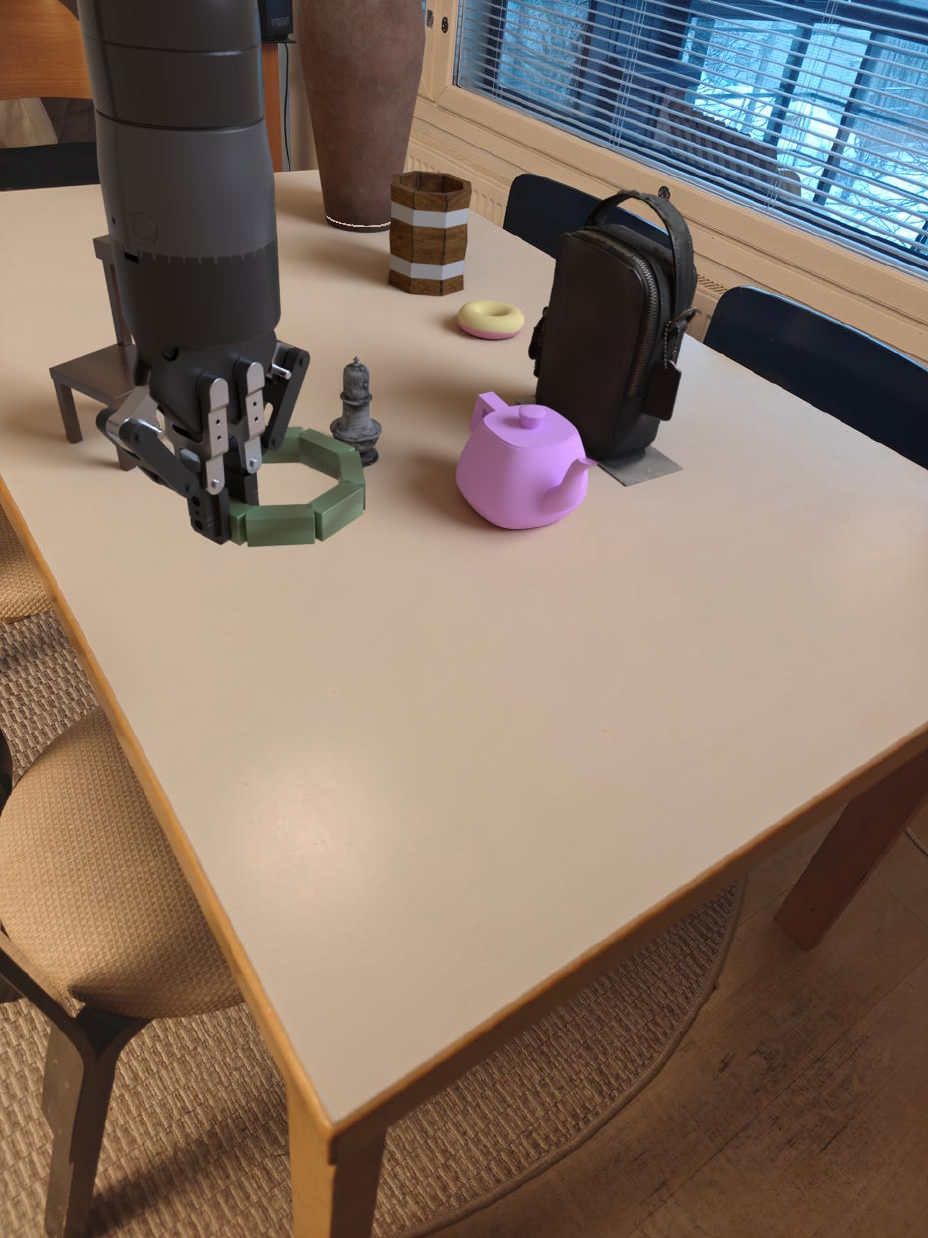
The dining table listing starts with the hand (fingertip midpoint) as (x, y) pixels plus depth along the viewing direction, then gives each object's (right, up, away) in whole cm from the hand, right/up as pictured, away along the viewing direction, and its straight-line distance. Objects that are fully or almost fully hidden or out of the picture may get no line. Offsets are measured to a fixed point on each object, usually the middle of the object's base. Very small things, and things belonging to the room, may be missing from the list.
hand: (227, 529), depth 51 cm
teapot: (+20, +7, +44) cm, 49 cm away
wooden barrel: (+6, +53, +94) cm, 108 cm away
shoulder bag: (+30, +18, +57) cm, 67 cm away
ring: (+2, +2, +3) cm, 5 cm away
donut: (+18, +38, +79) cm, 90 cm away
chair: (-24, +15, +47) cm, 54 cm away
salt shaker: (+2, +13, +48) cm, 50 cm away
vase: (-6, +72, +114) cm, 135 cm away
